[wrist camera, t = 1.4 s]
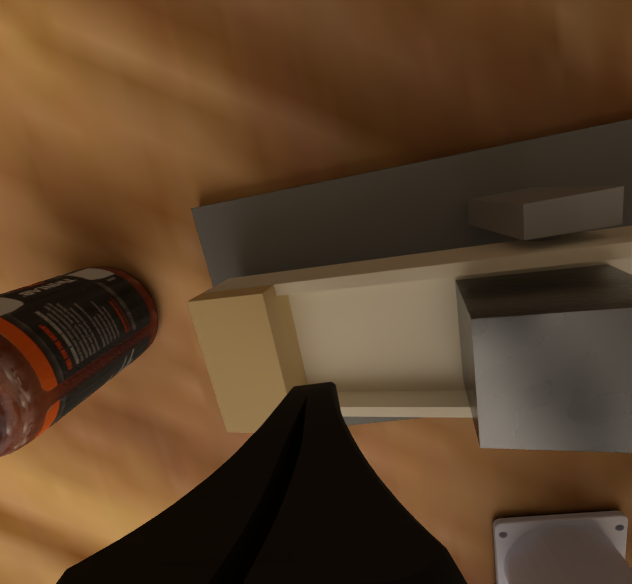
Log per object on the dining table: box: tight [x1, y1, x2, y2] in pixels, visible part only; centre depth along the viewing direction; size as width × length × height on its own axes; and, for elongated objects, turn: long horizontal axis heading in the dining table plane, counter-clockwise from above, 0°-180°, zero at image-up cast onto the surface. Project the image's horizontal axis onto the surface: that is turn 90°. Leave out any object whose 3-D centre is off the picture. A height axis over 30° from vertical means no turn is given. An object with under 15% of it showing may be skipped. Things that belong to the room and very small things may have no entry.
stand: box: [191, 119, 632, 450], centre depth 15 cm, size 14×30×6 cm, turn 101°
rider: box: [455, 264, 632, 453], centre depth 11 cm, size 4×5×4 cm
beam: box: [187, 226, 632, 433], centre depth 13 cm, size 7×28×4 cm, turn 101°
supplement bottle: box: [0, 266, 158, 457], centre depth 15 cm, size 6×6×11 cm
